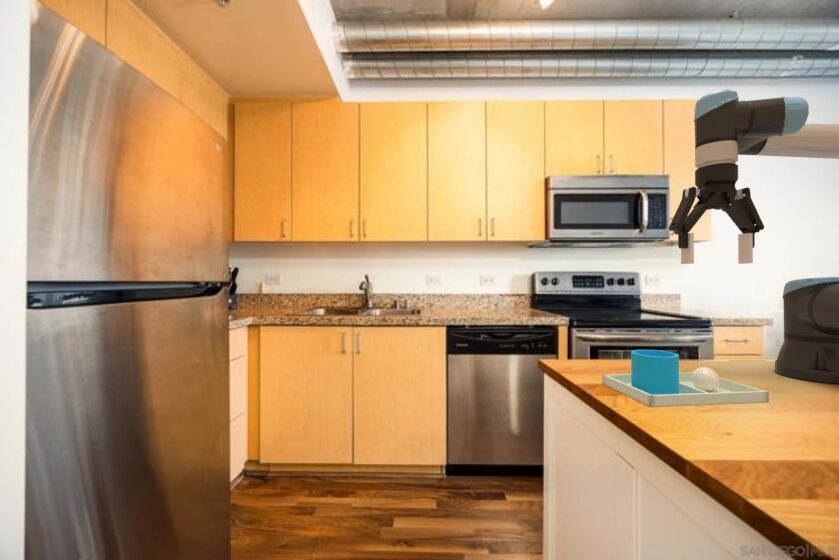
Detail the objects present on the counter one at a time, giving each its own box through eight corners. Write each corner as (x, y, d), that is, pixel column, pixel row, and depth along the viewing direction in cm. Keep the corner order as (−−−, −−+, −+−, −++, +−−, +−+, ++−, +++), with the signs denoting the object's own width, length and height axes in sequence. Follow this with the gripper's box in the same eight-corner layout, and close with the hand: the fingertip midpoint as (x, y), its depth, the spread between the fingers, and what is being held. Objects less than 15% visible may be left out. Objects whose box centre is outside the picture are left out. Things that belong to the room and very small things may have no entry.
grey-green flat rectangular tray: (700, 382, 89) (700, 371, 89) (768, 405, 73) (768, 391, 73) (602, 386, 87) (602, 374, 87) (650, 409, 71) (650, 396, 71)
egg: (706, 387, 83) (706, 364, 83) (726, 393, 78) (726, 369, 78) (685, 388, 83) (685, 365, 83) (703, 394, 78) (703, 370, 78)
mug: (675, 403, 73) (675, 359, 73) (626, 395, 78) (626, 354, 78) (685, 389, 82) (684, 350, 82) (640, 382, 87) (640, 345, 87)
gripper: (752, 171, 91) (753, 263, 91) (650, 170, 89) (651, 264, 89) (785, 162, 83) (786, 262, 83) (674, 160, 81) (675, 263, 81)
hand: (716, 263), depth 86 cm, fingers open, 13 cm apart
